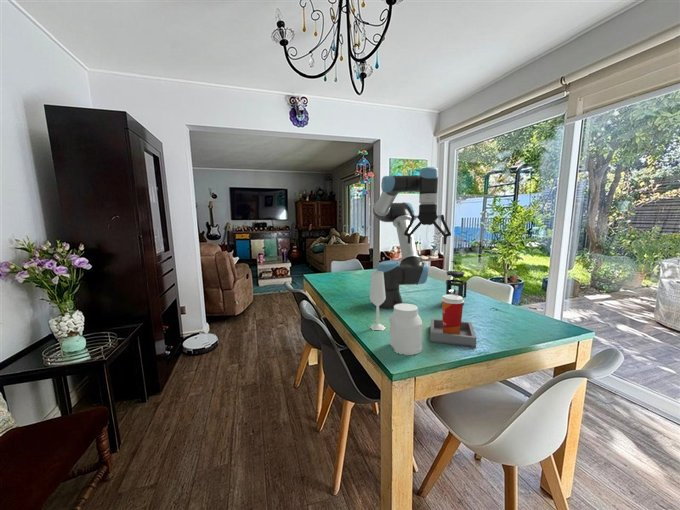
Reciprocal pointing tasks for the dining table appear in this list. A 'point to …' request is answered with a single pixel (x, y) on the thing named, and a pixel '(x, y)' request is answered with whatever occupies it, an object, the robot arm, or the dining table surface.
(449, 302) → the coffee cup
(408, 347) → the jar
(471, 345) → the bin
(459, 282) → the french press
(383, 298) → the champagne flute
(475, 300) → the dining table surface
